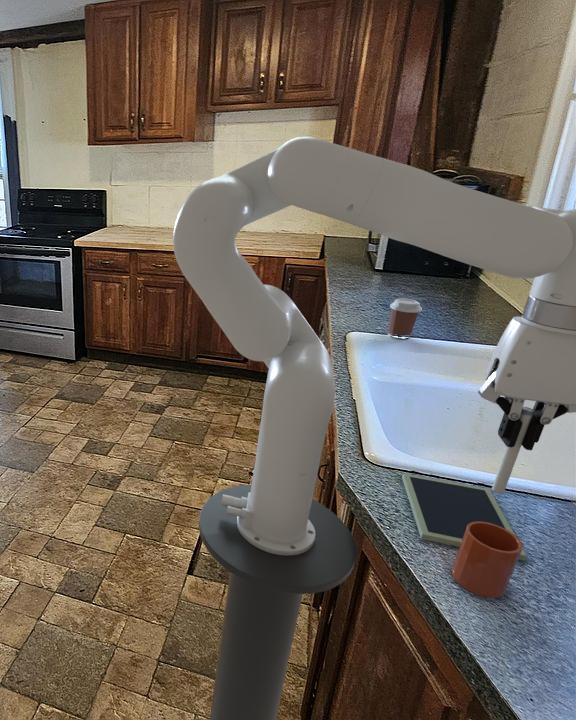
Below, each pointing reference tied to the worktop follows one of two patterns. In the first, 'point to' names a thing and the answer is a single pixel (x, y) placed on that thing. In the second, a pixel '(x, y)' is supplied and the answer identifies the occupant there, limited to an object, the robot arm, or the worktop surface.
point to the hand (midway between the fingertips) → (515, 443)
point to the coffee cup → (403, 316)
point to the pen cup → (486, 559)
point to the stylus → (512, 453)
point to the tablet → (451, 508)
